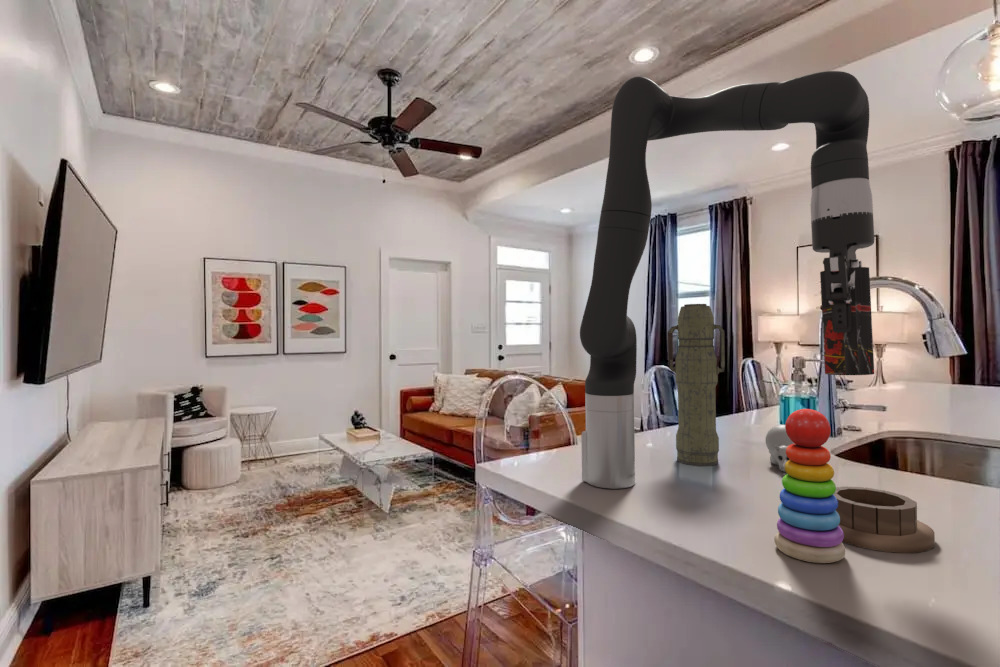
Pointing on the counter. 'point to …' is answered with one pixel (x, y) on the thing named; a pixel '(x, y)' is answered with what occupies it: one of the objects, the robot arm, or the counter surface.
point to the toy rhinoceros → (778, 445)
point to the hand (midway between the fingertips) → (846, 331)
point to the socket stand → (881, 521)
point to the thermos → (696, 384)
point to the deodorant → (855, 347)
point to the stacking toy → (809, 493)
